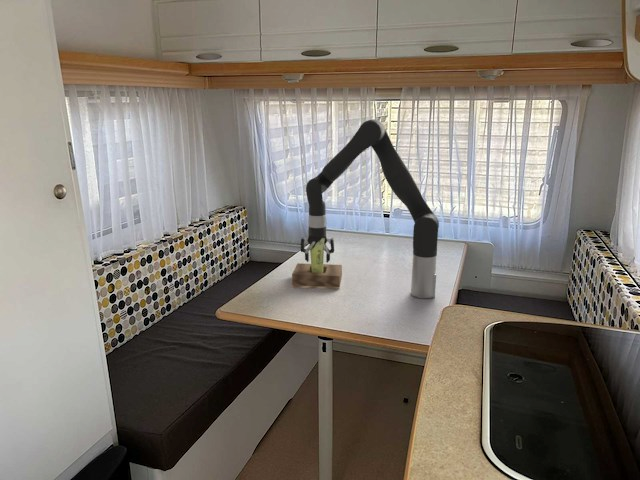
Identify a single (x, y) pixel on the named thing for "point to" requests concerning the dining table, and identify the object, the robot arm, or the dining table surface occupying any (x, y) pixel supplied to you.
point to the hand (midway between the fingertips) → (317, 261)
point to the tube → (317, 257)
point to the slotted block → (317, 277)
